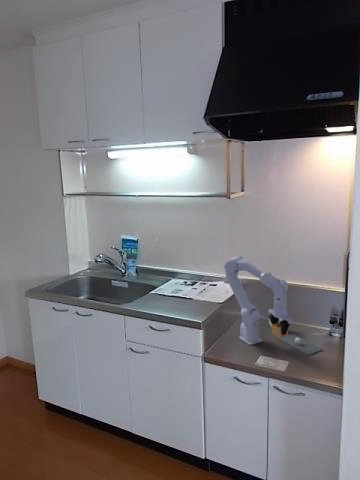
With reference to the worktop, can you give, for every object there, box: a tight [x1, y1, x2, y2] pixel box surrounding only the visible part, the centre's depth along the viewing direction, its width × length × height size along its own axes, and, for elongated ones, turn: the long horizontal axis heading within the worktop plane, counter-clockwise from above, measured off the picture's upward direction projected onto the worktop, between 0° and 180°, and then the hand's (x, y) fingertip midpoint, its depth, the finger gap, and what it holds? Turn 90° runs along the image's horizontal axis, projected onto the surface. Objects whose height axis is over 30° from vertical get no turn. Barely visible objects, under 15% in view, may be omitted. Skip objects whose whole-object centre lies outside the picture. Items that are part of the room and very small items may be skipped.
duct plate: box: [277, 333, 324, 357], centre depth 186 cm, size 20×10×3 cm, turn 28°
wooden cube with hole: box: [271, 322, 289, 339], centre depth 183 cm, size 5×5×5 cm
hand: (279, 332), depth 183 cm, fingers closed on wooden cube with hole, 5 cm apart
